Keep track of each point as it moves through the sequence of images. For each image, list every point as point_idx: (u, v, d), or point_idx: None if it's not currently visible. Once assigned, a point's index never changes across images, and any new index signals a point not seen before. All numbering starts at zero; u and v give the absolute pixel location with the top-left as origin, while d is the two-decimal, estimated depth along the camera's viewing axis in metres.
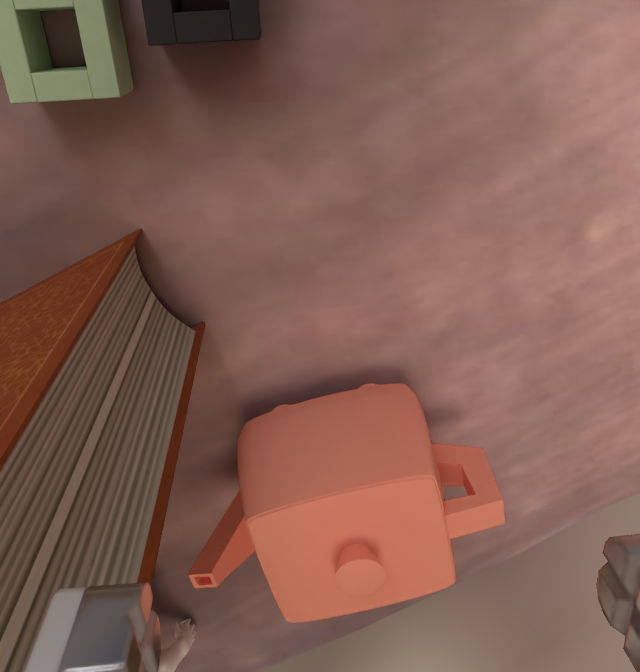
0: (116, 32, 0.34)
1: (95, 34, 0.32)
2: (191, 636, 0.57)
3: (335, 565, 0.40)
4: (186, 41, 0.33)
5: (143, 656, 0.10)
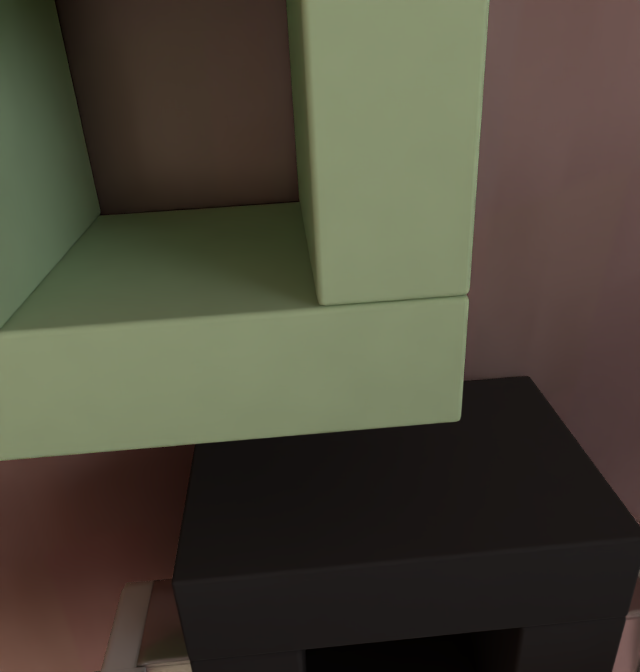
0: None
1: (188, 390, 0.06)
2: None
3: None
4: None
5: None
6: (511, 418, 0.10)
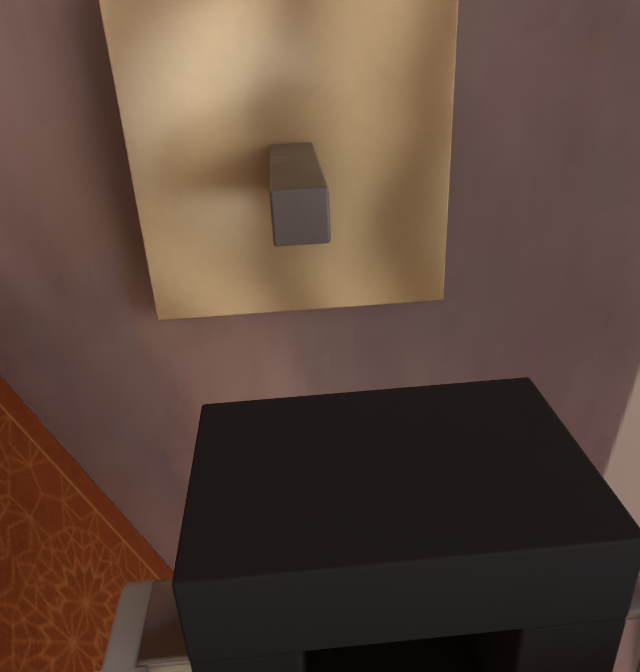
0: None
1: None
2: None
3: None
4: None
5: None
6: (511, 420, 0.10)
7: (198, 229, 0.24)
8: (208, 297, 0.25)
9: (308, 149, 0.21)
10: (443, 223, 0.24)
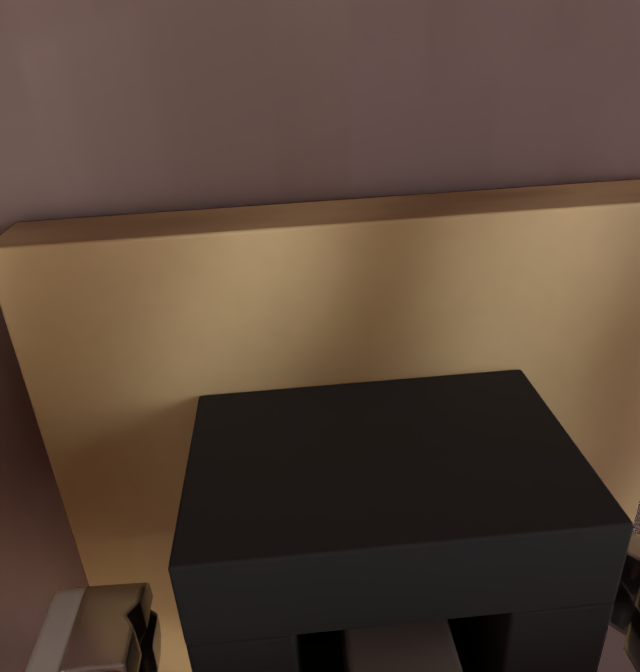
0: None
1: None
2: None
3: None
4: (197, 671, 0.09)
5: (143, 656, 0.10)
6: (503, 410, 0.10)
7: None
8: None
9: None
10: None
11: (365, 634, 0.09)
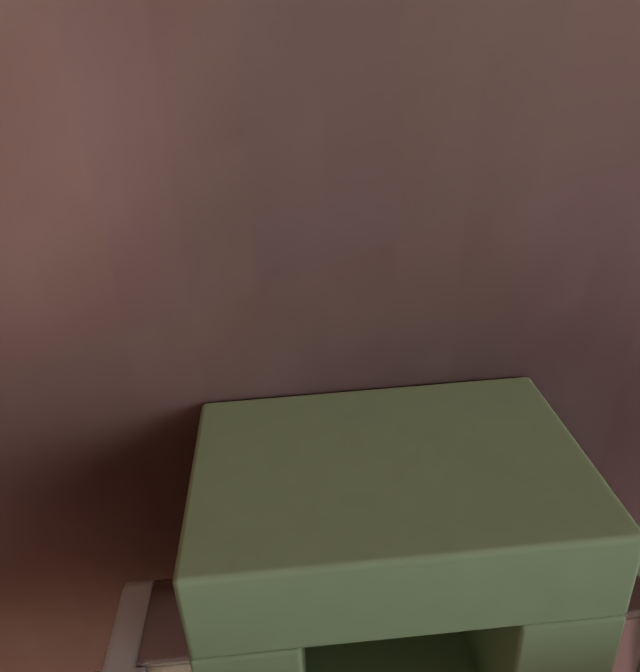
0: None
1: None
2: None
3: None
4: None
5: None
6: None
7: None
8: None
9: None
10: None
11: None
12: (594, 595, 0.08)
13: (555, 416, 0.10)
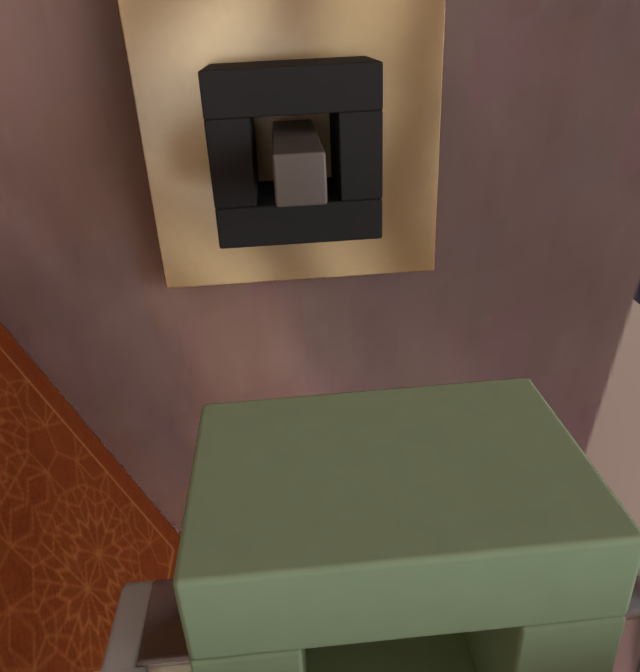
0: None
1: None
2: None
3: None
4: (208, 136, 0.20)
5: None
6: (349, 58, 0.22)
7: (205, 201, 0.25)
8: (214, 266, 0.27)
9: (307, 124, 0.23)
10: (433, 196, 0.26)
11: (280, 135, 0.21)
12: (594, 596, 0.08)
13: (555, 417, 0.10)
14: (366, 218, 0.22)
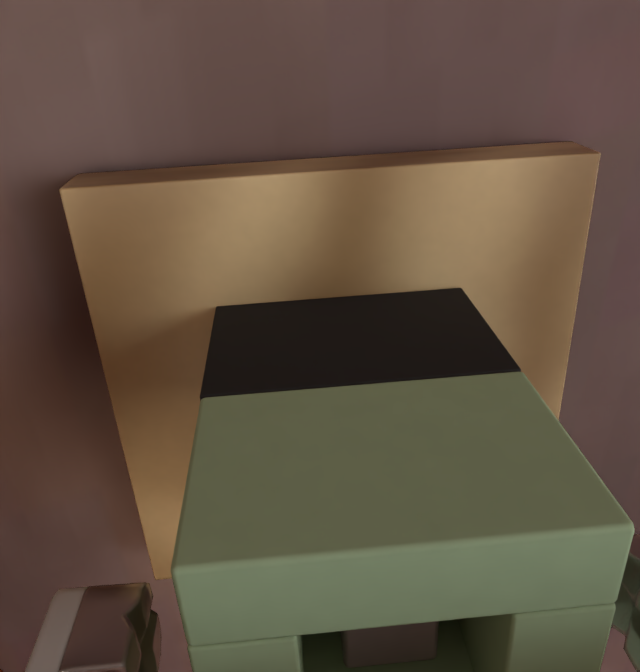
0: None
1: None
2: None
3: None
4: None
5: (143, 657, 0.10)
6: (443, 311, 0.14)
7: None
8: None
9: None
10: None
11: None
12: (583, 583, 0.08)
13: (548, 409, 0.10)
14: None
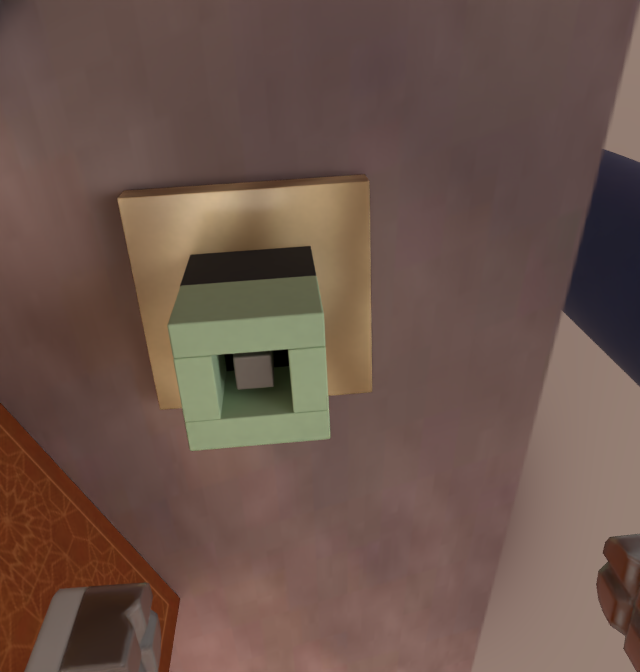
0: None
1: (262, 431, 0.26)
2: None
3: None
4: None
5: (143, 656, 0.10)
6: (295, 255, 0.29)
7: None
8: None
9: None
10: (368, 340, 0.33)
11: None
12: (310, 336, 0.24)
13: (316, 286, 0.26)
14: None
